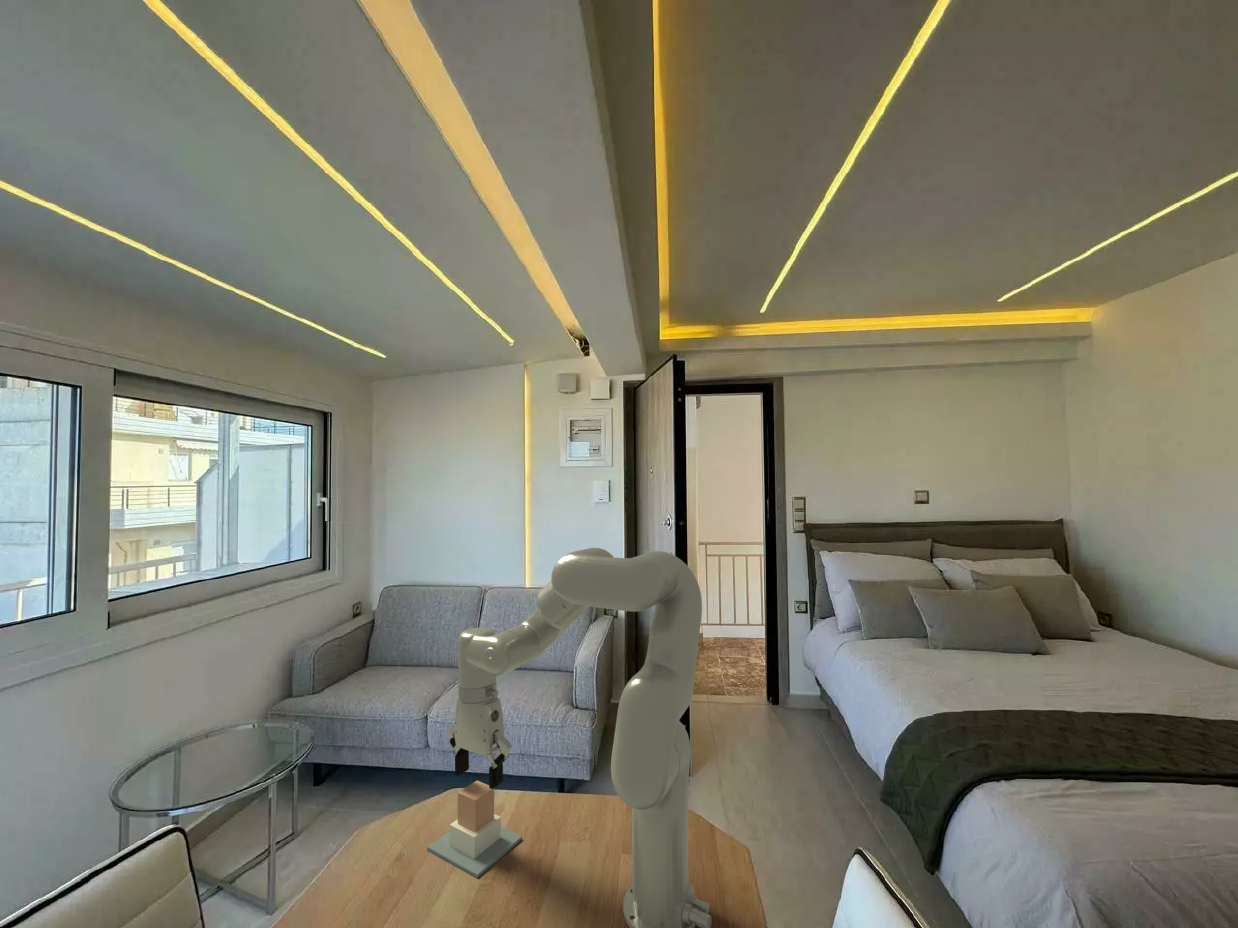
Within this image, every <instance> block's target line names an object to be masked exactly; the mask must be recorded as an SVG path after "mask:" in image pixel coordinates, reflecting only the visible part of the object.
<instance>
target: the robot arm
mask: <svg viewBox="0 0 1238 928" xmlns="http://www.w3.org/2000/svg"><path fill="white" fill-rule="evenodd" d="M535 599H536V600H535V601H536V603H535V604H536V607H537V609H536V610H535V611H534V612H533V613H532V614H530V616H529V617H527V618H526V620H524V621H523V622H522V623H520V624H519V625H517V626H513V627H511V628H510V629H507V630H504V631H501V632H499V633H497V634H496V632H495V631H494V630H493V629H492V628H489V627H482V626H481V627H472V628H468V629H465V630H464V631H462V632H460V633H459V635H458V640H457V659H458V660H457V664H458V665H457V667H458V668H457V670H458V671H457V672H458V673H457V676H458V678H457V679H458V689H457V690H458V698H457V700H456V701H457V702H456V706H455V707H456V708H455V716H454V724H453V725H451V726H449V727H448V728H447V729H446V731H447V734H448V737H449V738H448V739H449V744H450V746H451V747H452V754H453V755H454V775H455V776H456V777H459V776H461V775H462V774H464V773H465V772H467V771H469V769H470V753H469V752H472V753H474V754H477V755H481V756H484V757H486V758H487V760H488V762H489V764H490V767H489V768H488V785H489V788H490V789H493V788H494V789H495V788H496V787H497V786H499V785H500V784H502V783H503V781H504V763H505V762H506V760H507V759H508V758H509V756H510V753H511V749H512V747H513V746H512V743H511V742H510V741H509V740H508V739H507V738H506V737H505V725H504V724H505V723H504V715H503V709H502V708H503V707H502V703H501V700H500V697H498V696H499V690H498V689H497V676H498V677H499V676H504V675H507V674H508V673H511V672H512V671H514V670H516V669H518V668H520V667H521V666H524V665H525V664H527V663H529V662H531V661H532V660H534V659H536V658H537V657H539V655H541V654H542V653H543V652H544V651H545V650H546V649H548V648H549V647H550V646H551V645H552V644H553V643H554V642H556V641H557V639H559V638H560V637H561V636H562V635H563V634H564V632H565V631H566V630H567V629H568V627H569V626H570V625H571V624H572V623H573V622H574V621H575V620H576V619H577V618H579V617H580V616H581V615H582V614H583V613H584V612H585V611H586V610H587V609H589V608H590V607H591V608H599V609H607V610H615V611H622V612H641V611H646V610H648V609H650V608H652V607H654V606H655V607H654V609H655V610H654V613H653V617H652V621H651V625H650V629H649V634H648V644H647V649H646V651H647V652H646V656H645V660H644V663H643V666H642V667H641V668H640V670H638V672H637V673H635V674H634V675H633V676H632V677H631V678H630V680H629V681H627V683H626V685H625V687H624V689H623V690H622V693H621V696H620V698H619V699H620V700H619V703H618V708H617V714H616V720H615V721H616V722H615V729H614V737H613V745H612V751H611V757H610V758H611V759H610V760H611V761H610V774H611V776H610V777H611V782H612V784H613V785H612V786H613V787H614V789H615V792H616V794H617V796H618V797H619V798H620V799H621V801H623V803H624V804H625V805H627V806H628V807H630V808H631V842H632V843H631V863H632V864H631V869H632V871H631V873H632V874H631V875H632V877H631V879H632V880H631V886H630V887H629V888H628V889H627V891H626V893H625V895H624V897H623V903H622V907H623V909H622V912H623V918H624V920H625V923H626V924H627V926H628V927H629V928H696V926H697V927H698V928H711V926H712V916H711V914H709V913H710V905H711V904H710V903H708V902H706V901H704V900H701V899H698V898H697V896H696V895H695V884H694V883H693V882H690V881H689V880H690V879H689V820H688V819H689V780H690V767H691V757H692V756H691V755H692V754H691V752H692V751H691V742H690V738H689V737H690V736H689V734H688V731H687V730H686V727H685V726H684V724H683V723H682V722H681V721H680V719H682V716H684V714H685V712H686V710H688V708H689V706H690V704H691V703H692V702H691V701H692V699H693V695H694V686H695V675H696V666H697V661H698V660H697V659H698V653H699V642H700V641H699V640H700V635H701V633H700V631H701V625H702V615H703V614H702V613H703V603H702V602H703V601H702V592H701V589H700V585H699V581H698V579H697V577H696V576H695V575H694V573H693V571H692V569H691V568H690V567H689V566H688V565H687V564H686V563H685V562H684V561H683V560H682V559H680V558H679V557H677V556H676V555H674V554H672V553H671V552H670V553H669V552H666V551H656V550H655V551H649V552H646V553H643V554H640V555H637V556H634V557H629V558H626V557H614V556H613V554H611V553H610V552H609V551H608V550H605V549H603V548H600V547H588V548H585V549H580V550H575V551H572V552H568V553H566V554H564V555H562V556H561V557H560V558H559V559H558V560H557V561H556V563H555V564H554V567H553V569H552V571H551V579H550V581H549V582H548V583H547V584H546V585H544V587H543V588H541V589H540V590H539V592H538V593H537V596H536V598H535ZM494 753H495V754H496V756H497V757H496V758H495V755H494Z"/></svg>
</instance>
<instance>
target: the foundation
mask: <svg viewBox="0 0 1238 928" xmlns="http://www.w3.org/2000/svg"><path fill="white" fill-rule="evenodd" d="M501 820H502V817H501V816H500V815H497V814H495V813H494V819H492V820H491V821H490V822H489V823H487V824H486V825H485V826H483V827H482V828H481V829H479V830H478V831H477V832H473V831H471V830H469V829H467V828H465V827H463V826H461V825H459V824H458V818H457V819H456V820H454V821H453V822H451V823H450V824H449V831H447V832H446V833H444V834H443V835H442V836H440V837H439V838H437V839H436V840H435V841H433V842H432V843H430V844H429V845H428V846H427V847H426V850H427V851H428V852H430V853H431V854H433V855H435V856H437V857H438V858H441V859H443V860H444V861H446V862H448V863H449V864H451V865H453V866H455V867H457V868H458V869H460V870H461V871H464V872H465V873H467V874H469V875H470V876H473V878H474V877H475V878H476V879H478V878H479V877H480V876H481V875H483V874H484V873H485V872H486V871H487V870H488V869H489V868H490V867H492V866H493V865H494V864H495V863H497V862H498V861H499V860H500V859H501V858H502V857H503V856H505V854H506V853H508V852H509V851H510V850H511V849H513V848H514V847H515V846H516V845H517V844H518V843H519V842H520V841H522V840H523V836H522V835H520V834H518V833H517V832H514V831H511V830H509V829H507V828H505V827H503V826H502V825H501V824H502V822H501Z"/></svg>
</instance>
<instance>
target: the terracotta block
mask: <svg viewBox="0 0 1238 928" xmlns="http://www.w3.org/2000/svg"><path fill="white" fill-rule="evenodd" d="M494 814H495V788H493V789H490V788H489V784H486V783H484V782H482V781H480V780H476V781H474V782H472V783H471V784H469V785H468V786H466V787H464V788H463V789H462V790H460V791H458V792H457V819H458V824H459V825H461V826H463V827H465V828H467V829H469V830H471V831H473V832H477V831H478V830H479V829H481V828H482V827H483V826H485V825H486V824H487V823H489V822H490V821H491V820H492V819H494Z"/></svg>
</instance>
